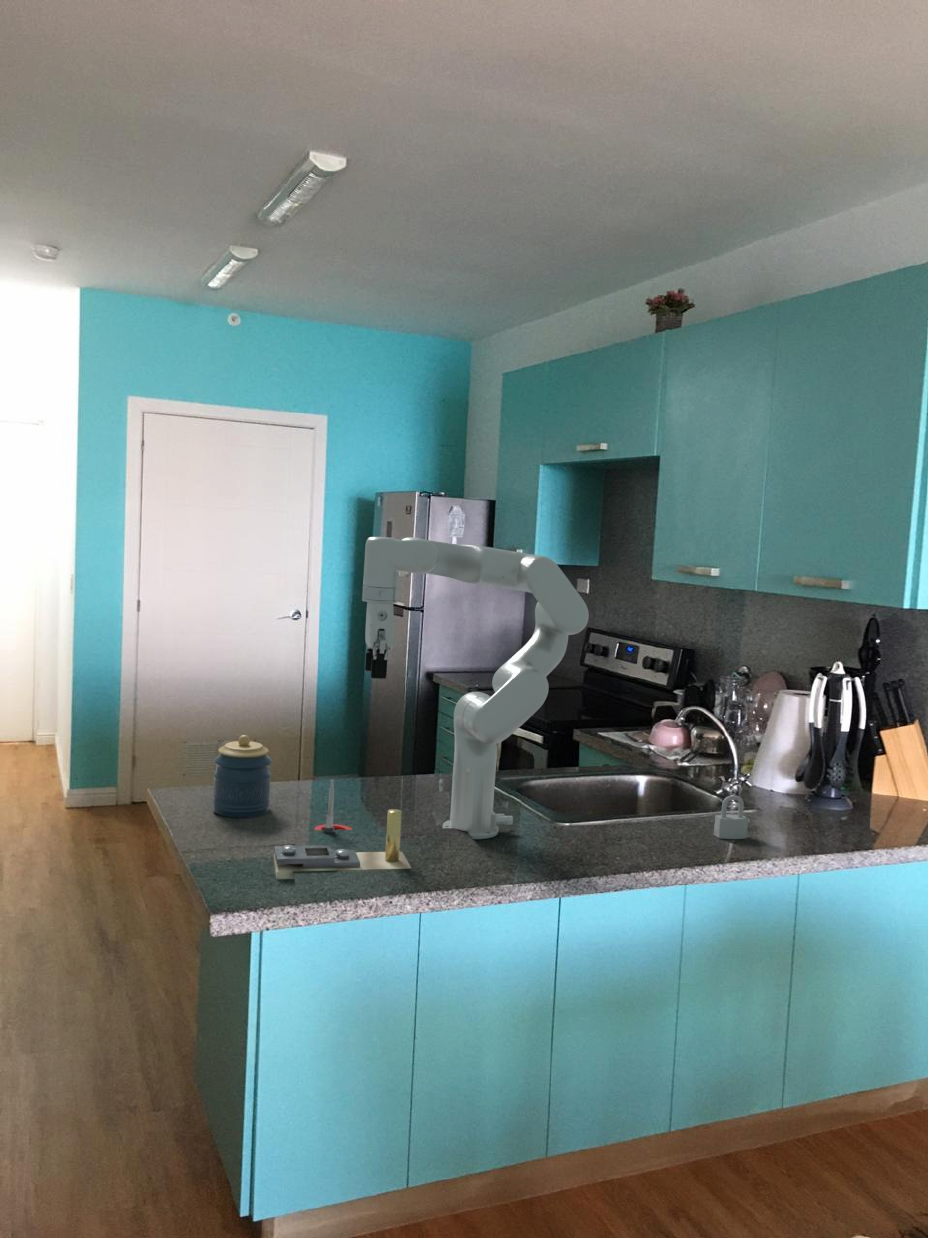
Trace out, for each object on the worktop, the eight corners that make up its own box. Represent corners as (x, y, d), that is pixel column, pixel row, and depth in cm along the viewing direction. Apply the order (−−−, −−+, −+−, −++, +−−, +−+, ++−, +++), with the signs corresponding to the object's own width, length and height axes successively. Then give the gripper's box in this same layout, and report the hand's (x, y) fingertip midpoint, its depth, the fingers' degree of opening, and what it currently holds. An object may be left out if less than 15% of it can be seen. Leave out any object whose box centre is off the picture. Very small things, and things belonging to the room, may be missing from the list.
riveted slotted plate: (354, 854, 209) (355, 840, 208) (359, 867, 201) (360, 852, 201) (273, 856, 205) (274, 841, 204) (276, 869, 197) (277, 854, 197)
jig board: (401, 858, 212) (402, 851, 212) (411, 875, 203) (411, 868, 203) (273, 861, 206) (273, 854, 206) (276, 879, 196) (276, 871, 196)
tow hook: (320, 827, 231) (308, 838, 222) (324, 770, 230) (312, 778, 221) (357, 832, 230) (346, 842, 221) (361, 774, 229) (350, 782, 220)
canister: (243, 799, 247) (246, 726, 246) (281, 811, 240) (285, 736, 238) (200, 809, 237) (203, 734, 235) (238, 822, 229) (242, 744, 227)
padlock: (719, 840, 239) (723, 797, 238) (712, 834, 243) (715, 793, 242) (747, 840, 241) (751, 798, 240) (739, 834, 245) (743, 793, 244)
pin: (397, 857, 208) (400, 809, 207) (400, 862, 206) (402, 813, 205) (383, 857, 208) (386, 809, 207) (386, 862, 205) (388, 813, 204)
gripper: (404, 599, 213) (398, 682, 215) (391, 592, 230) (386, 668, 231) (367, 597, 211) (362, 680, 213) (357, 590, 228) (353, 667, 230)
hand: (375, 674), depth 222 cm, fingers open, 9 cm apart
